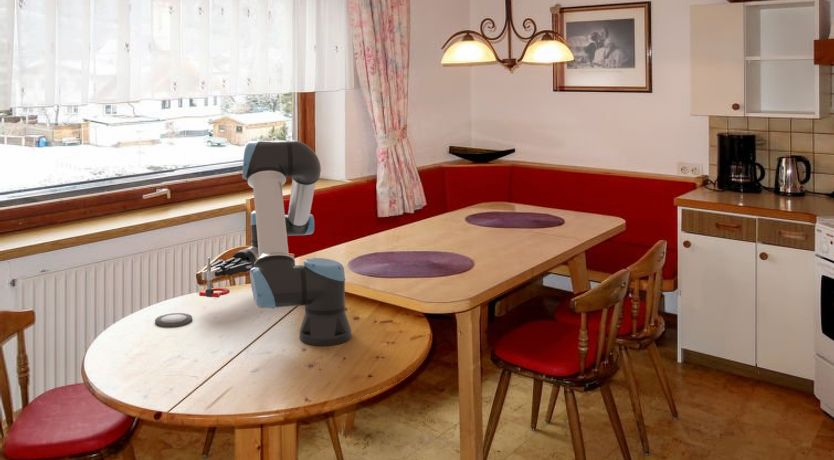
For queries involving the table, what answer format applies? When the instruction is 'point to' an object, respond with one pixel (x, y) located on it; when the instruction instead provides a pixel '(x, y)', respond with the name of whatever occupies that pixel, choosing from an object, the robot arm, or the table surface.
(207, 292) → the tow hook
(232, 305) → the table surface
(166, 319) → the plate
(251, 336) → the table surface
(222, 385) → the table surface
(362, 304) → the table surface
